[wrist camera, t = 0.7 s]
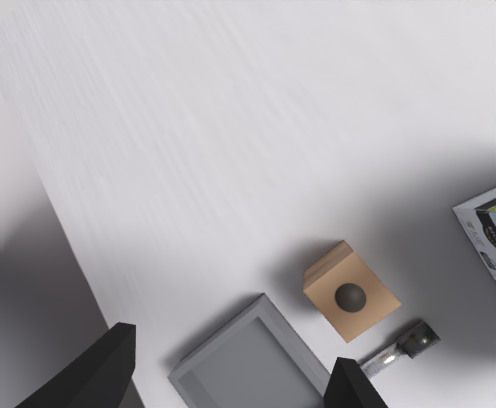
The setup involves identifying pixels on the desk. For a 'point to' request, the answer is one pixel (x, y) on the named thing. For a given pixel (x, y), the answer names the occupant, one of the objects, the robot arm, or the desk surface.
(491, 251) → the tea box
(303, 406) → the tray
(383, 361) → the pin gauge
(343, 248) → the block
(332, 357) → the desk surface
